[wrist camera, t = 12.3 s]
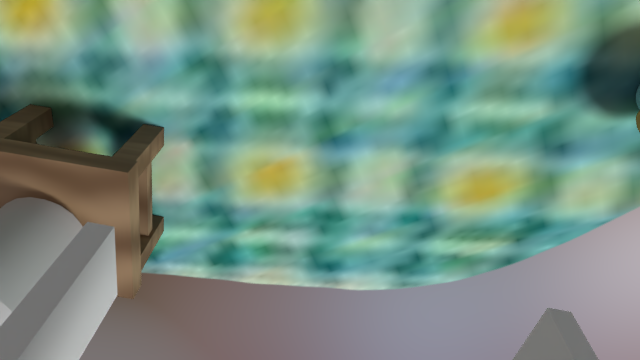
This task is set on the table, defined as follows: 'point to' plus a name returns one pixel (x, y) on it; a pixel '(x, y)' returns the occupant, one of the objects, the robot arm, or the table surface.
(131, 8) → the table surface
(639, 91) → the cupcake
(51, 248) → the can
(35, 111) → the stool
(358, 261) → the table surface
